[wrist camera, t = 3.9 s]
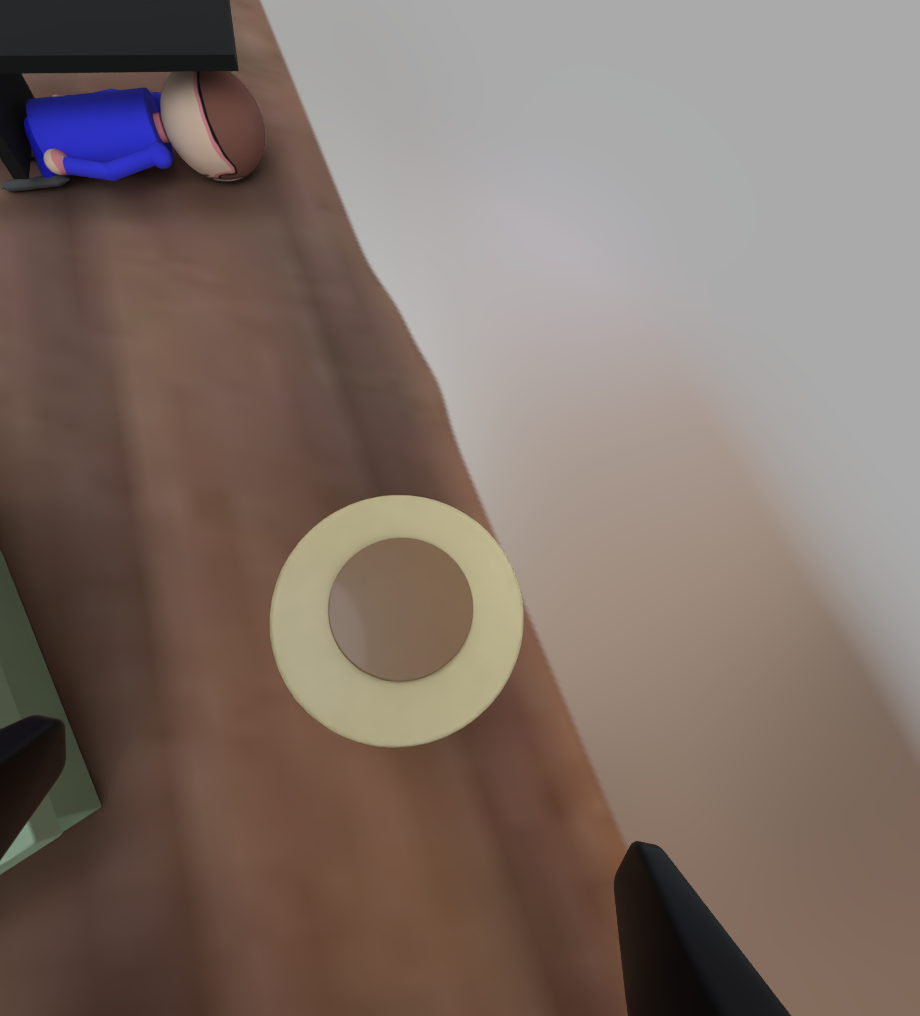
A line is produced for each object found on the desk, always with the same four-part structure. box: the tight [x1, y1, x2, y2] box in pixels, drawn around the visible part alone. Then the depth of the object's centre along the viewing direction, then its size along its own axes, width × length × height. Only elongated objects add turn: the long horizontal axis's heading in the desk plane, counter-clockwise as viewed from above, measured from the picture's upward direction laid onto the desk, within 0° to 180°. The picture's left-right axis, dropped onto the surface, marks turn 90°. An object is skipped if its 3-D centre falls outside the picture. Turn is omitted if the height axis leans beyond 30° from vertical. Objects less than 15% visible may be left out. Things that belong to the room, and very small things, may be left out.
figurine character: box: [0, 0, 265, 192], centre depth 24 cm, size 7×8×15 cm
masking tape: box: [270, 495, 524, 748], centre depth 14 cm, size 5×5×10 cm
